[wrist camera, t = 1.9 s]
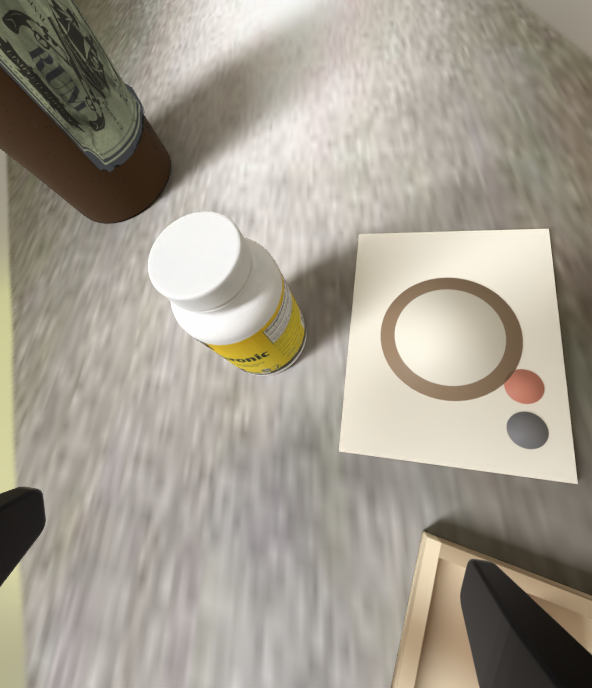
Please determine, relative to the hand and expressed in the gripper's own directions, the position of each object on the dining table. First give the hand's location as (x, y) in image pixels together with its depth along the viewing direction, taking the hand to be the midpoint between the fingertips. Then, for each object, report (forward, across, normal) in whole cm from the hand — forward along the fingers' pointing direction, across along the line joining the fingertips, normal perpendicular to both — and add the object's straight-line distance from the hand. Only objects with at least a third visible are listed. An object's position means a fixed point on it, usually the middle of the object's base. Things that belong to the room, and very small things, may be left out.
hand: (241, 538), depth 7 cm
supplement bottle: (+16, +3, -1) cm, 16 cm away
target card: (+14, -8, -2) cm, 16 cm away
